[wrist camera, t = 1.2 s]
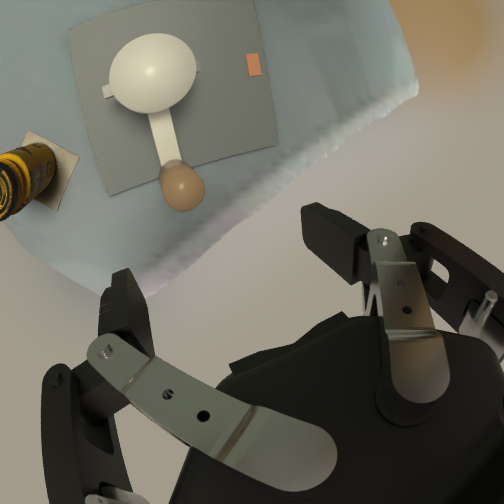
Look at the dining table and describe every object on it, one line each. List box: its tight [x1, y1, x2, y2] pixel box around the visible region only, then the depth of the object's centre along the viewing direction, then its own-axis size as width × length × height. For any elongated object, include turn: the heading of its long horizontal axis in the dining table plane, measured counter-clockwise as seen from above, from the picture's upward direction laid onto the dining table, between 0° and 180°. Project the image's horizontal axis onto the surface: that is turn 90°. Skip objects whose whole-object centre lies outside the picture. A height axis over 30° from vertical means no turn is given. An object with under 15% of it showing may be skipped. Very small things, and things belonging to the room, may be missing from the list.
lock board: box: [68, 0, 279, 197], centre depth 23 cm, size 22×22×5 cm
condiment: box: [0, 131, 79, 221], centre depth 19 cm, size 7×8×12 cm
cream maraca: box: [102, 33, 205, 211], centre depth 20 cm, size 15×9×8 cm, turn 10°
